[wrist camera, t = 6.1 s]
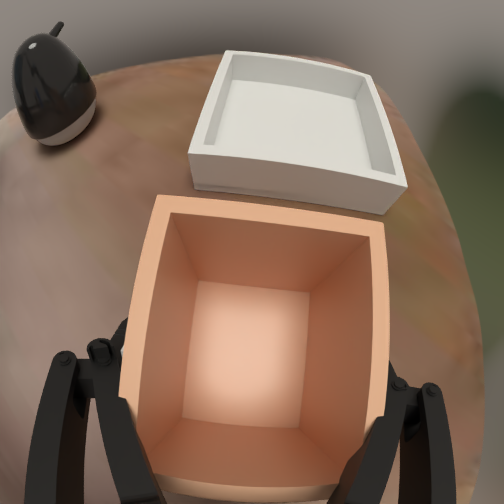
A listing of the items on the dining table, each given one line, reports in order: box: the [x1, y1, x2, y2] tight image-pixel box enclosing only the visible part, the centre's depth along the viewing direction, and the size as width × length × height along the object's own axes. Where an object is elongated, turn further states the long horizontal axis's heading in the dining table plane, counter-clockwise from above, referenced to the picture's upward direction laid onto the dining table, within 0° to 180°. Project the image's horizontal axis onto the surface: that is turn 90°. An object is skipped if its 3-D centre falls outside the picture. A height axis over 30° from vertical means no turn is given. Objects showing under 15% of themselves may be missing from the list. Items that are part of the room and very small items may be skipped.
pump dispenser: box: [12, 22, 96, 146], centre depth 20 cm, size 10×10×15 cm
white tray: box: [188, 51, 408, 215], centre depth 25 cm, size 18×18×5 cm
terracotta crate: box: [119, 195, 390, 503], centre depth 14 cm, size 10×12×11 cm
